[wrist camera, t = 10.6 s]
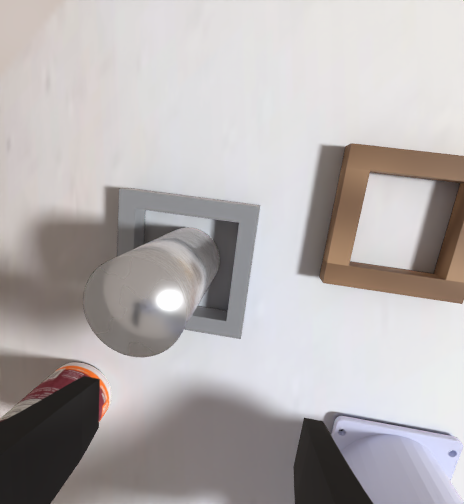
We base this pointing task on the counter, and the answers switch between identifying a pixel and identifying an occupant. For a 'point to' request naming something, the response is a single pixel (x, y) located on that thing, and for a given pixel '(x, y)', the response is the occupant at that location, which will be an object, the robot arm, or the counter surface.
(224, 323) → the frame
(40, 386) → the pill bottle
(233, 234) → the counter surface
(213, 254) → the grey thick round cylinder
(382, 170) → the socket frame
